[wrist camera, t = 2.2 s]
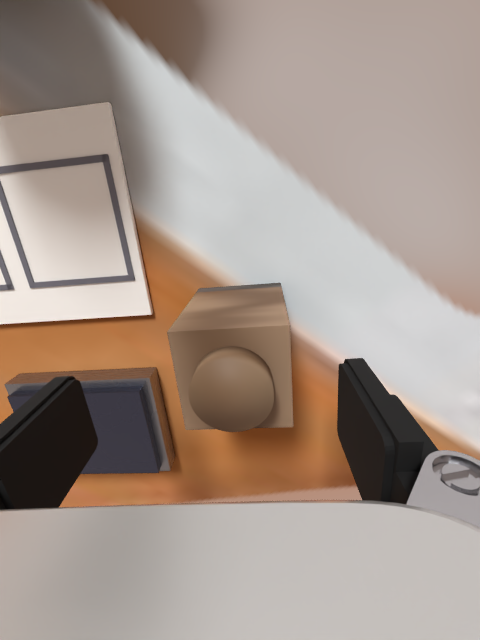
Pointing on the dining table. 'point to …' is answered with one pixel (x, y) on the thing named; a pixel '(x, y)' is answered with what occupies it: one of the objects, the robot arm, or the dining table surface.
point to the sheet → (67, 219)
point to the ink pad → (115, 417)
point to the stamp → (234, 359)
